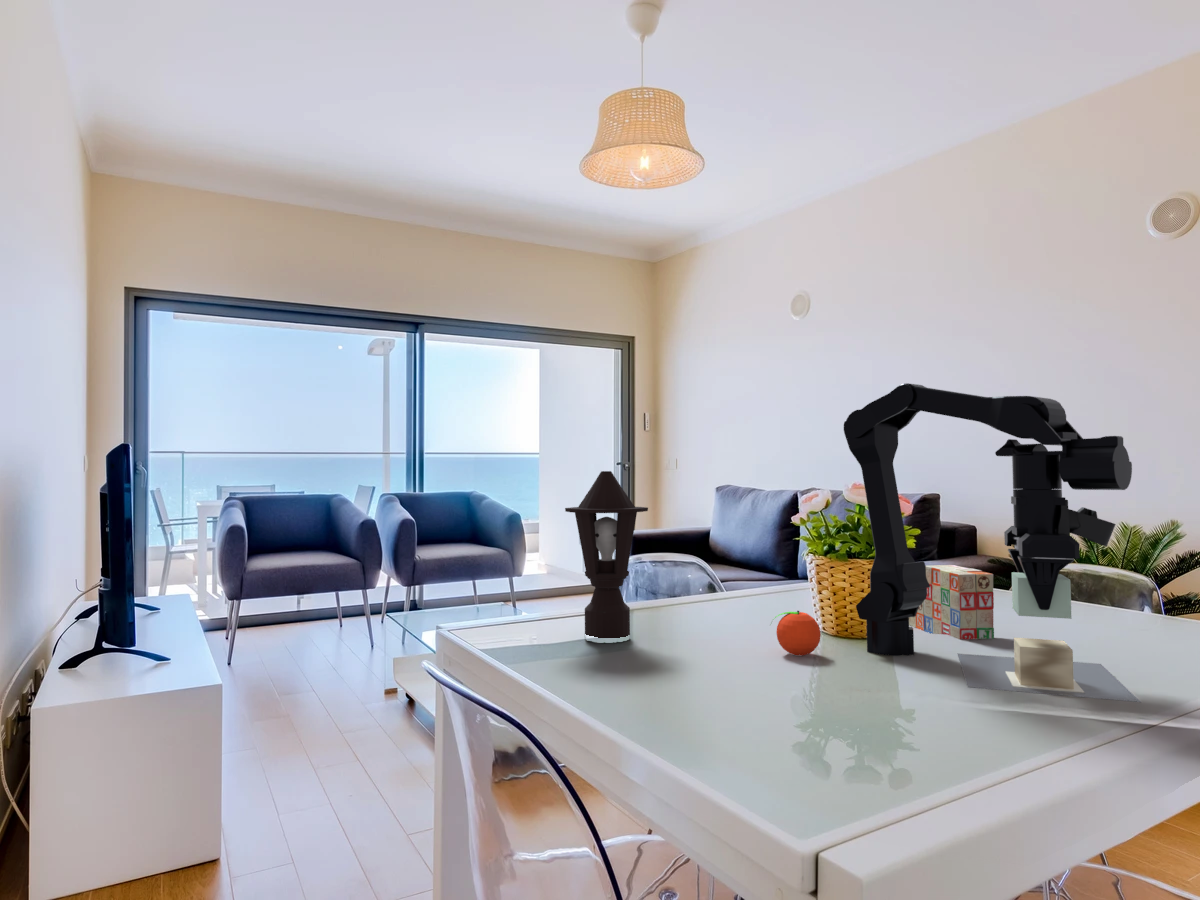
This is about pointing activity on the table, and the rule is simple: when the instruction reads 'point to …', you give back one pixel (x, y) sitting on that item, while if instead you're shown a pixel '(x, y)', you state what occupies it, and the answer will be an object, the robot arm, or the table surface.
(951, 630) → the stack of blocks
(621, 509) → the lantern
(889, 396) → the robot arm
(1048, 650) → the maple block
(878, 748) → the table surface
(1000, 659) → the plate
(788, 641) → the clementine
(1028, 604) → the sage block
